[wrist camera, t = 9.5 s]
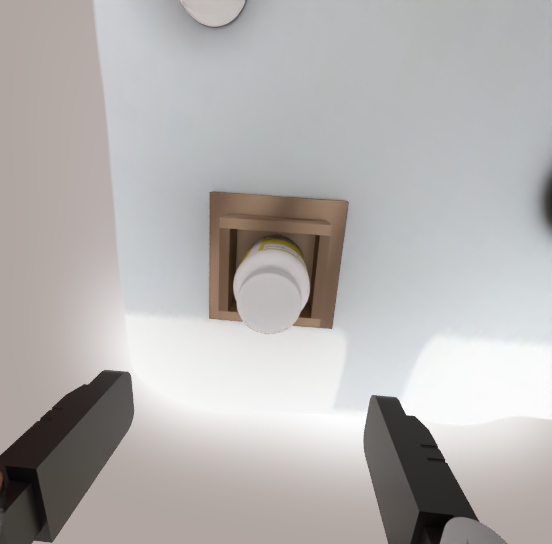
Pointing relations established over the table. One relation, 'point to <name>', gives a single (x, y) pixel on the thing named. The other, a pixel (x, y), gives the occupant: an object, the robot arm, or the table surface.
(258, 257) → the supplement bottle
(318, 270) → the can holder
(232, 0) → the drinking glass
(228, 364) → the table surface
